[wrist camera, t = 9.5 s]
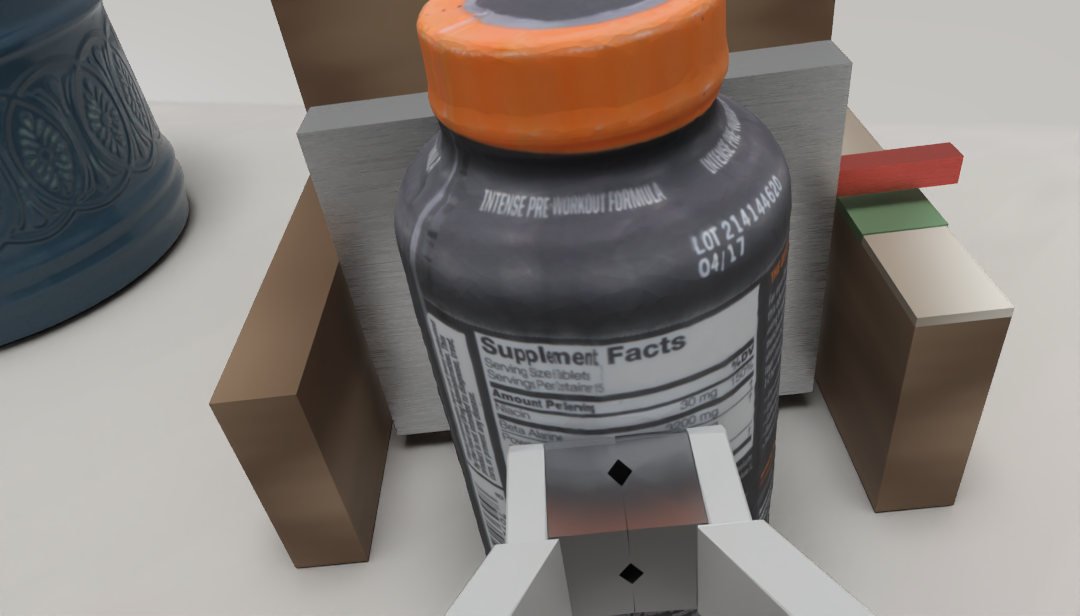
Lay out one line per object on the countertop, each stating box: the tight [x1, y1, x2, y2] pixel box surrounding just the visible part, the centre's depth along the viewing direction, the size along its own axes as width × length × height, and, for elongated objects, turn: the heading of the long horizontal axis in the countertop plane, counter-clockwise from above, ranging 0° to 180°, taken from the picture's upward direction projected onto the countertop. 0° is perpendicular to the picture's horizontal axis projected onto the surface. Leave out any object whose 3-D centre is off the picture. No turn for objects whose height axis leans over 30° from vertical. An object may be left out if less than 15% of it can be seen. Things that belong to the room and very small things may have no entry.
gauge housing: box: [209, 0, 1015, 568], centre depth 19 cm, size 14×14×10 cm
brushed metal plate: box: [296, 40, 964, 435], centre depth 17 cm, size 12×1×8 cm, turn 91°
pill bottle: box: [394, 0, 792, 616], centre depth 13 cm, size 6×6×11 cm
